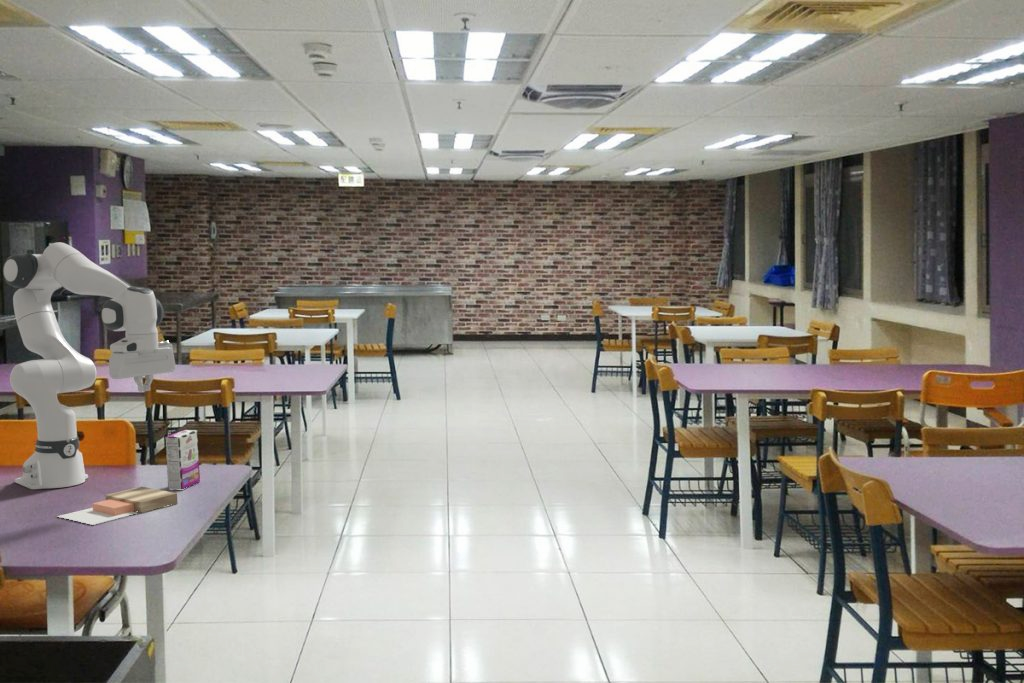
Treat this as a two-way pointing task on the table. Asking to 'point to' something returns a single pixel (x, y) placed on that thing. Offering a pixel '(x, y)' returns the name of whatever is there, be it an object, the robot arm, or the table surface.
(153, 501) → the plate
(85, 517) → the mat
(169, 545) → the table surface
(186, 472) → the candy bar box
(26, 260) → the robot arm
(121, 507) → the salmon pink rectangular block
